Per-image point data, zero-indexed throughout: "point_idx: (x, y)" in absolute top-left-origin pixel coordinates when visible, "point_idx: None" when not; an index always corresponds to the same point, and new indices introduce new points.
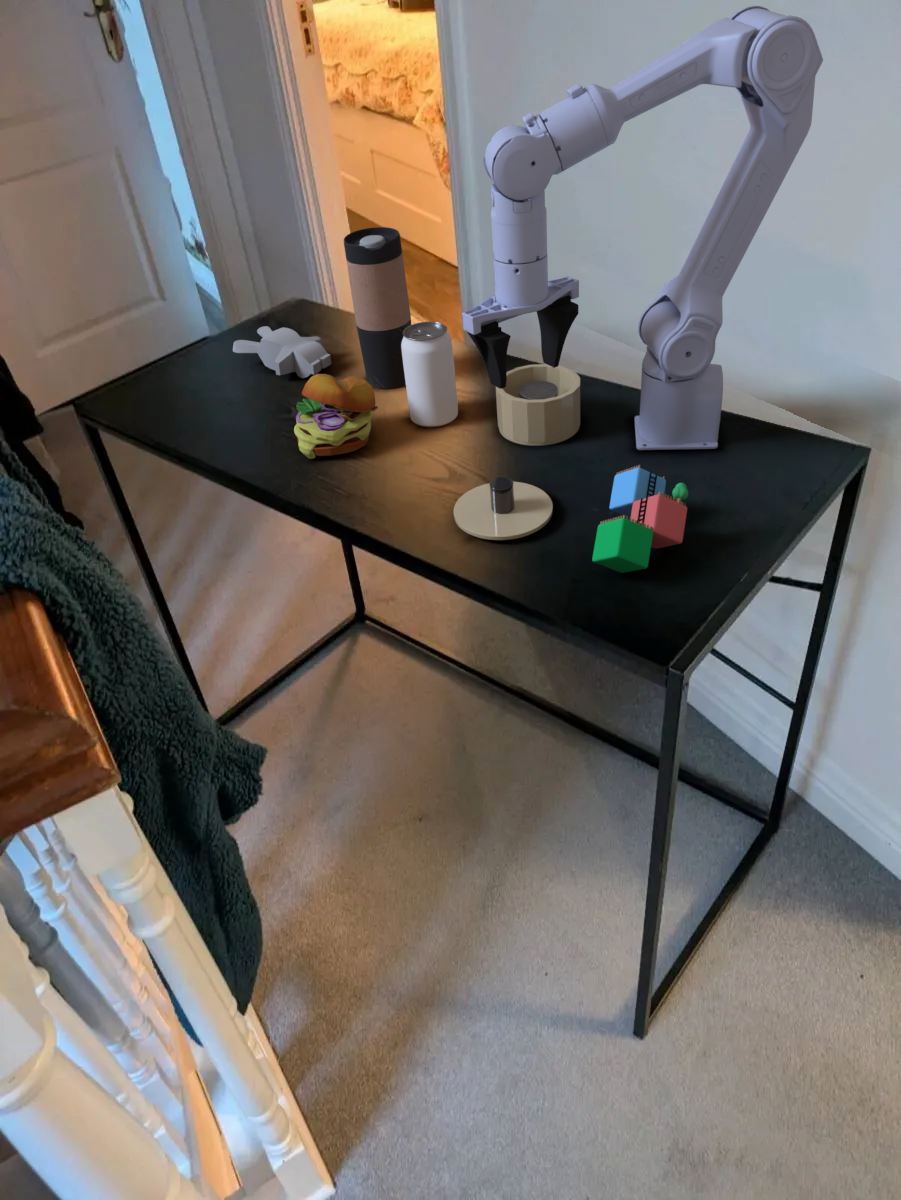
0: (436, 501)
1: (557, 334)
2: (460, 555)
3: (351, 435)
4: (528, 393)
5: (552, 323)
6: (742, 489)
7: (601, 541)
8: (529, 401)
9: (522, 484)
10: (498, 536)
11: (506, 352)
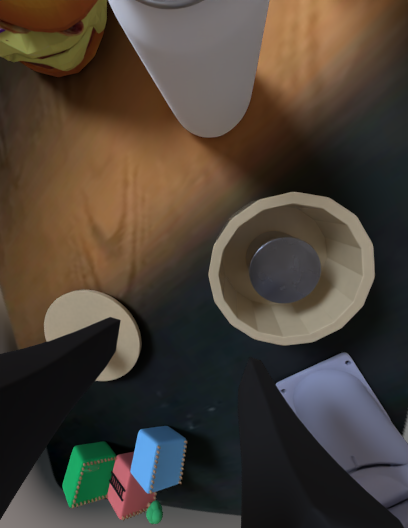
0: (68, 261)
1: (243, 490)
2: (32, 335)
3: (30, 58)
4: (264, 265)
5: (255, 512)
6: None
7: (73, 465)
8: (218, 303)
9: (134, 331)
10: None
11: (43, 447)
